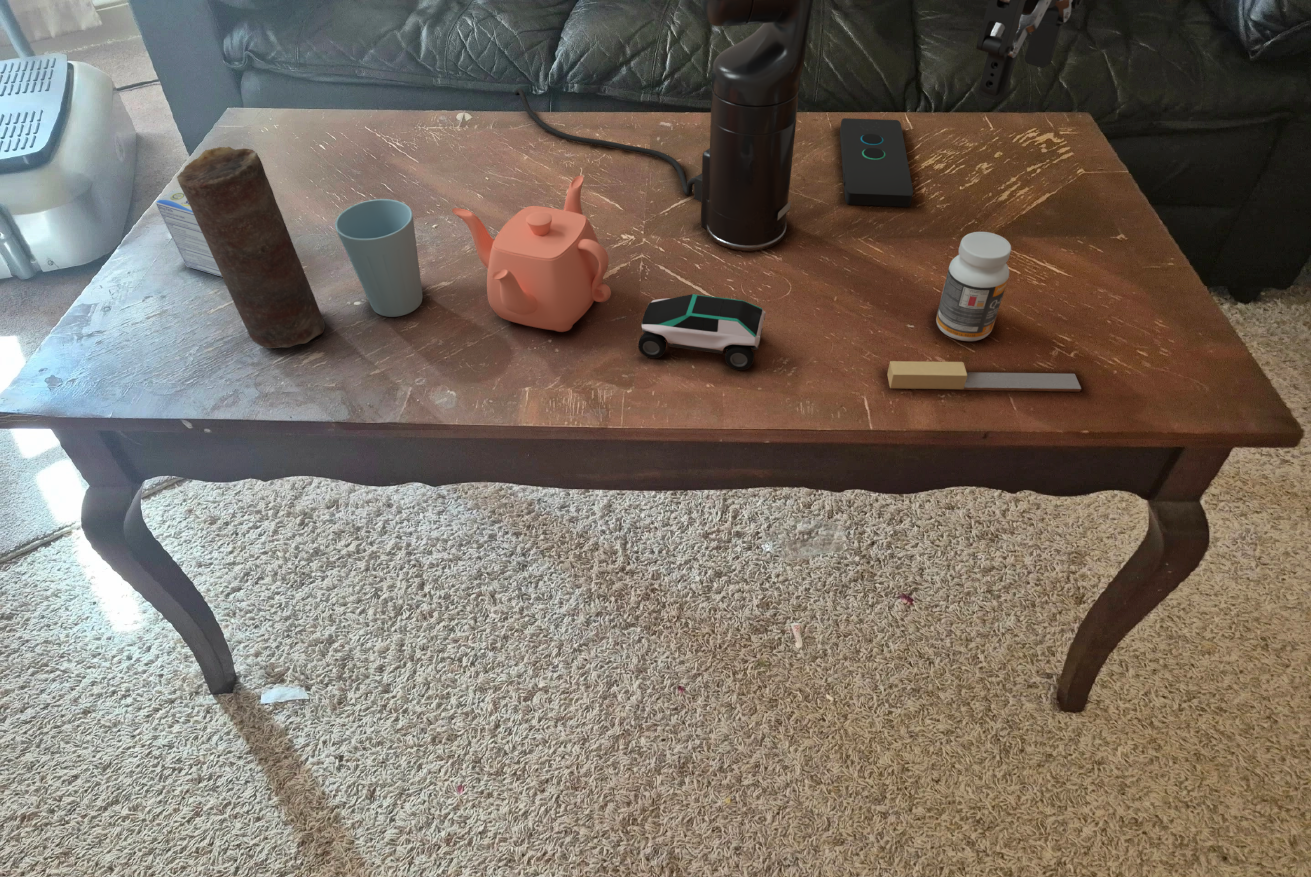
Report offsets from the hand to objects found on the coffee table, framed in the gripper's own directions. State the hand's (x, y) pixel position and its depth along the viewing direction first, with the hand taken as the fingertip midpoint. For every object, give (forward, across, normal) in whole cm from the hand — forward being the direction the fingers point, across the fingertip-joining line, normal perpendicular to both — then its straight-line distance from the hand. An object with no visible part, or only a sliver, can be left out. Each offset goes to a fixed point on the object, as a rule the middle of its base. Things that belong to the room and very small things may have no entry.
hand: (1014, 80), depth 77 cm
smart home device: (+24, +19, +22) cm, 38 cm away
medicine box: (+24, -49, +66) cm, 86 cm away
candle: (+24, -51, +49) cm, 75 cm away
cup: (+24, -40, +45) cm, 65 cm away
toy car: (+24, -24, +15) cm, 37 cm away
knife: (+24, -10, -9) cm, 27 cm away
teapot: (+24, -30, +33) cm, 51 cm away
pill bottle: (+24, -4, -3) cm, 24 cm away
